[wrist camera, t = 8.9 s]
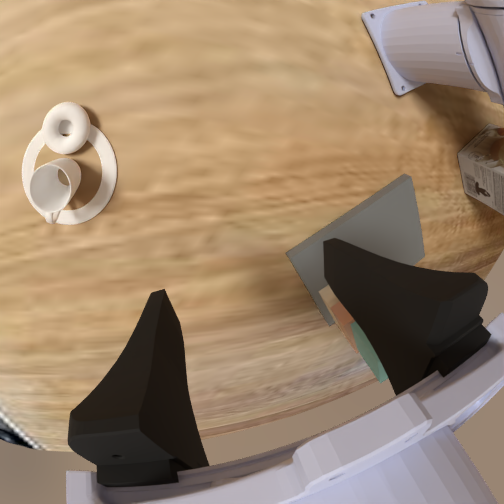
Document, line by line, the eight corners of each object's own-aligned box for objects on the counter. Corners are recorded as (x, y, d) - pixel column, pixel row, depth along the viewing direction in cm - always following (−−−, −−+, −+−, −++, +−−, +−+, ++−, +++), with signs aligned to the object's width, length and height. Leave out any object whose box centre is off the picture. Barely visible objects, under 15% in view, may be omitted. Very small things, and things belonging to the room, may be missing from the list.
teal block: (392, 297, 23) (422, 329, 19) (394, 325, 26) (420, 355, 22) (350, 324, 23) (377, 361, 19) (357, 349, 26) (380, 383, 22)
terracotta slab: (378, 273, 25) (394, 289, 23) (387, 306, 28) (401, 321, 26) (330, 307, 25) (343, 325, 23) (345, 336, 28) (356, 353, 26)
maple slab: (364, 259, 27) (378, 273, 25) (375, 293, 30) (387, 306, 28) (318, 291, 27) (330, 307, 25) (334, 321, 30) (345, 336, 28)
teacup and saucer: (60, 89, 14) (37, 88, 11) (145, 143, 18) (139, 153, 15) (11, 191, 16) (-13, 211, 13) (87, 239, 20) (74, 266, 17)
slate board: (404, 173, 24) (411, 176, 24) (419, 252, 30) (424, 256, 30) (285, 253, 25) (289, 258, 24) (325, 320, 31) (329, 326, 30)
